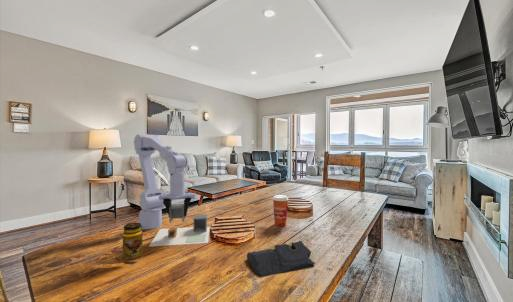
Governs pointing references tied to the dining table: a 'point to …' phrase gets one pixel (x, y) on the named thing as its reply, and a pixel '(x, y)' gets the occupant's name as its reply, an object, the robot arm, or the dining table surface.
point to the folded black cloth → (280, 259)
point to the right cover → (200, 221)
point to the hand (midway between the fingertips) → (177, 216)
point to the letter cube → (172, 232)
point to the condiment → (132, 242)
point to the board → (181, 237)
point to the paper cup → (280, 210)
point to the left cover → (176, 212)
